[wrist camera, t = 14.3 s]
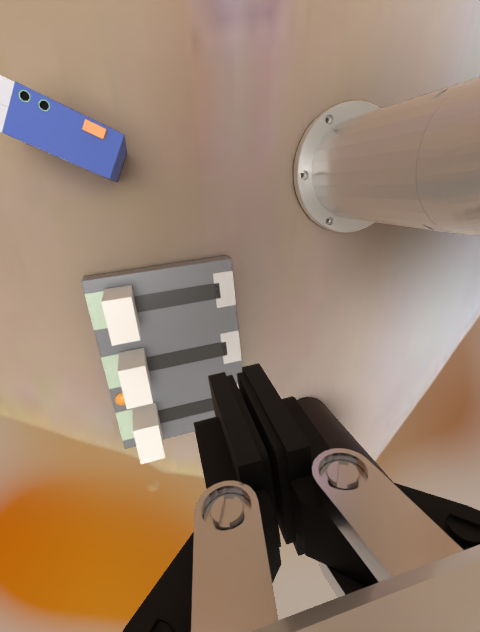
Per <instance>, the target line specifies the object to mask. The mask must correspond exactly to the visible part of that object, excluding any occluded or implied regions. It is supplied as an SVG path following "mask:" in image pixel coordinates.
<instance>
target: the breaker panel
mask: <svg viewBox="0 0 480 632" xmlns="http://www.w3.org/2000/svg"><path fill="white" fill-rule="evenodd" d="M81 282H82V286H83V290H84V294H85V298H86V302H87V306H88V310H89V314H90V317H91V321H92V325H93V329H94V332H95V336H96V340H97V344H98V347H99V351H100V355H101V360H102V364H103V367H104V371H105V375H106V379H107V383H108V387H109V390H110V394H111V397H112V401H113V405H114V409H115V413H116V417H117V421H118V425H119V429H120V433H121V437H122V440H123V444H124V447H125V449H127V448H131V447H135V446H136V442H135V438H134V434H133V408H131V409H127V408H126V404H125V400H124V396H123V392H122V388H121V384H120V380H119V376H118V372H117V371H118V359H119V352H124V351H130V350H135V349H140V348H144V351H145V355H146V360H147V365H148V370H149V375H150V379H151V386H152V396H153V403H156V405H157V410H158V415H159V420H160V425H161V429H162V435H163V439H166V438H170V437H174V436H178V435H182V434H186V433H190V432H193V431H195V428H194V422H198V421H201V420H205V419H209V418H213V417H216V416H215V411H214V406H213V401H212V396H211V390H210V385H209V380H208V376H209V375H213V374H217V373H221V372H225V373H226V376H228V375H233V377H234V379H235V382H236V384H237V386H238V380H237V373H240V372H242V361H241V360H242V359H241V350H240V340H239V330H238V322H237V312H236V300H235V290H234V281H233V271H232V263H231V258H229V257H228V256H226V255H225V256H218V257H212V258H205V259H198V260H191V261H185V262H178V263H171V264H164V265H157V266H151V267H144V268H137V269H130V270H124V271H117V272H110V273H103V274H97V275H90V276H84V277H83V279H82V281H81ZM128 285H131V286H132V290H133V295H134V300H135V305H136V310H137V314H138V319H139V324H140V341H134V342H129V343H124V344H119V345H114V346H112V344H111V340H110V336H109V332H108V328H107V324H106V320H105V316H104V312H103V308H102V303H101V300H102V297H103V293H104V289H109V288H115V287H122V286H128ZM238 388H239V386H238Z"/></svg>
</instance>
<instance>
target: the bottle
mask: <svg viewBox="0 0 480 632" xmlns="http://www.w3.org/2000/svg"><path fill="white" fill-rule="evenodd" d="M298 403H299V404H300V405H301V407H302V408H303V410H304V411H305V413H306V414H307V416H308V417H309V418H310V420H311V421H312V423H313V424H314V426H315V427H316V429H317V430H318V431H319V433H320V434H321V436H322V437H323V439H324V440H325V441H326V443H327V444H328V446H329V447H330V449H336V448H344V449H349V450H353V451H355V452H358V453H360V454H361V455H363V456H364V457H366V458H367V459H368V460H369V461H370V462H371V463H372V464H373V465H374V466H375V467H377V468H378V469H379V470H380V471H381V472H382V473H383V474H384V475H385V476H386V477H387V478H388V479H389V480H390V481H391V482H392V480H391V479H390V478H389V477H388V476H387V475H386V474H385V472H384V471H383V470H382V469H381V468H380V467H379V466H378V465H377V463H376V462H375V461H374V460H373V459H372V458H371V457H370V456H369V454H368V453H367V452H366V451H365V450H364V449H363V448H362V447H361V445H360V444H359V443H358V442H357V441H356V440H355V439H354V438H353V436H352V435H351V434H350V433H349V432H348V431H347V430H346V428H345V427H344V426H343V425H342V424H341V423H340V422H339V421H338V419H337V418H336V417H335V416H334V415H333V414H332V413H331V412H330V410H329V409H328V408H327V407H326V406H325V405H324V404H323V403H322V402H321V401H319V400H317V399H313V398H306V399H301V400H299V401H298Z"/></svg>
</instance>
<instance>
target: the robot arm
mask: <svg viewBox="0 0 480 632" xmlns="http://www.w3.org/2000/svg"><path fill="white" fill-rule="evenodd" d="M325 119H326V120H327V123H326V121H325ZM301 173H302V174H303V177H302V178H301V176H300V175H301ZM294 185H295V191H296V194H297V197H298V200H299V203H300V205H301V206H302V208H303V210H304V212H305V213H306V214H307V215H308V216H309V218H310V219H311V220H312V221H314V222H315V223H316V224H318V225H319V226H321V227H323V228H325V229H327V230H331V231H335V232H343V233H349V232H356V231H359V230H362V229H365V228H367V227H369V226H370V225H372V224H374V223H375V222H377V223H384V224H391V225H398V226H405V227H412V228H420V229H427V230H434V231H441V232H448V233H457V234H465V235H475V236H480V77H478V78H475V79H472V80H469V81H466V82H463V83H460V84H456V85H453V86H450V87H447V88H444V89H441V90H438V91H435V92H431V93H428V94H425V95H422V96H419V97H416V98H413V99H410V100H406V101H403V102H400V103H397V104H394V105H391V106H388V107H385V108H381V107H379V106H377V105H376V104H373V103H370V102H367V101H359V100H353V101H347V102H343V103H340V104H337V105H335V106H333V107H331V108H329V109H327V110H326V111H324V112H323V113H321V114H320V115H319V116H318V117H317V118H316V119H314V121H313V122H312V123H311V124H310V126H309V127H308V128H307V130H306V131H305V133H304V135H303V137H302V139H301V141H300V143H299V146H298V149H297V152H296V156H295V162H294ZM326 219H327V222H326ZM208 380H209V385H210V390H211V396H212V401H213V406H214V411H215V416H216V417H213V418H209V419H205V420H201V421H198V422H194V428H195V433H196V438H197V443H198V448H199V453H200V458H201V463H202V468H203V473H204V478H205V483H206V488H207V489H206V491H204V493H203V494H202V495H201V496H200V498H199V499H198V501H197V503H196V507H195V512H194V532H193V533H192V535H191V536H190V538H189V539H188V540H187V542H186V543H185V545H184V546H183V547H182V549H181V550H180V551H179V553H178V554H177V556H176V557H175V559H174V560H173V561H172V563H171V564H170V565H169V567H168V568H167V570H166V571H165V572H164V574H163V575H162V577H161V578H160V579H159V581H158V582H157V584H156V585H155V586H154V588H153V589H152V591H151V592H150V593H149V595H148V596H147V597H146V599H145V600H144V602H143V603H142V604H141V606H140V607H139V609H138V610H137V612H136V613H135V614H134V616H133V617H132V619H131V620H130V621H129V623H128V624H127V625H126V627H125V629H124V630H123V632H480V511H479V510H476V509H474V508H472V507H469V506H467V505H463V504H460V503H457V502H454V501H450V500H447V499H444V498H441V497H438V496H434V495H431V494H428V493H425V492H422V491H418V490H415V489H412V488H409V487H406V486H402V485H399V484H396V483H393V482H391V481H390V480H389V479H388V478H387V477H386V476H385V475H384V474H383V473H382V472H381V471H380V470H379V469H378V468H377V467H375V466H374V465H373V464H372V463H371V462H370V461H369V460H368V459H367V458H366V457H364V456H363V455H361V454H360V453H358V452H355V451H353V450H349V449H344V448H336V449H330V447H329V446H328V444H327V443H326V441H325V440H324V439H323V437H322V436H321V434H320V433H319V431H318V430H317V429H316V427H315V426H314V424H313V423H312V421H311V420H310V418H309V417H308V416H307V414H306V413H305V411H304V410H303V408H302V407H301V405H300V404H299V403H298V401H297V400H296V399H295V397H293V396H292V397H288V398H284V399H281V398H280V396H279V395H278V393H277V391H276V390H275V388H274V387H273V385H272V383H271V382H270V380H269V379H268V377H267V375H266V374H265V372H264V371H263V369H262V367H261V366H260V364H254V365H250V366H246V367H242V372H240V373H237V380H238V386H239V388H238V386H237V384H236V382H235V379H234V377H233V375H228V376H226V373H225V372H221V373H217V374H213V375H209V376H208ZM278 525H279V526H278ZM279 527H280V530H281V532H282V535H283V538H284V540H285V542H286V544H289V543H293V544H294V546H295V549H296V551H297V553H298V555H302V554H305V555H306V556H308V557H311V558H313V559H315V560H317V561H319V566H320V568H321V570H322V573H323V574H324V576H325V577H326V579H327V581H328V582H329V584H330V586H331V587H332V589H333V590H334V592H335V594H336V595H337V597H338V598H336V599H334V600H331V601H329V602H326V603H323V604H321V605H318V606H315V607H313V608H310V609H307V610H305V611H303V612H300V613H297V614H295V615H292V616H289V617H287V618H284V619H281V620H279V621H278V615H277V609H276V603H275V597H274V592H273V586H272V583H273V581H274V579H275V576H276V574H277V572H278V570H279V567H280V566H281V558H280V551H279V547H281V542H280V534H279Z"/></svg>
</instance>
